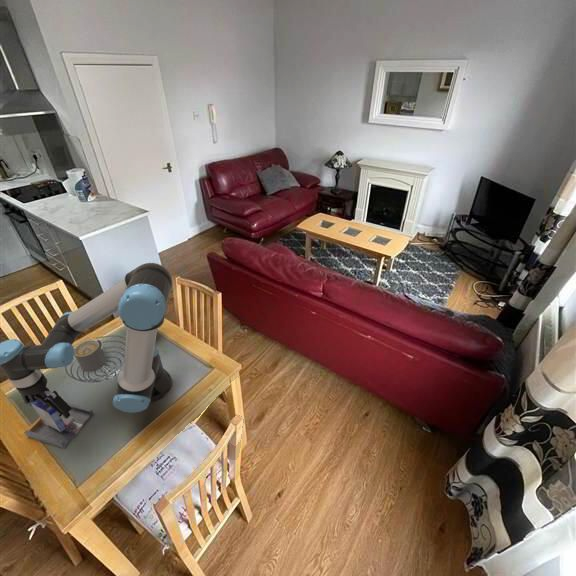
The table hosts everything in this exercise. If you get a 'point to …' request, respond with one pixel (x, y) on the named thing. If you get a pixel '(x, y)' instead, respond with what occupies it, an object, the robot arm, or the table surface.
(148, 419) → the table surface
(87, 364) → the coffee mug
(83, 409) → the grey tray
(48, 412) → the ink cartridge box
